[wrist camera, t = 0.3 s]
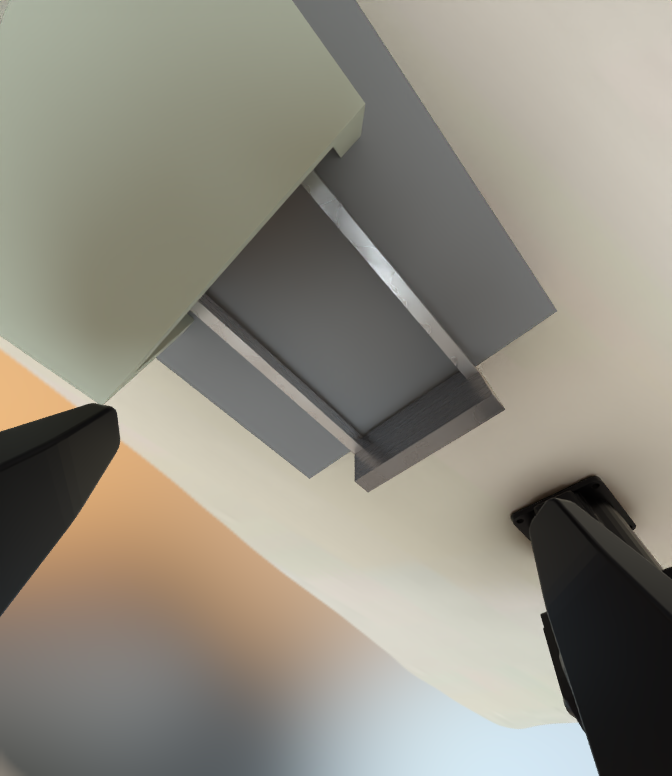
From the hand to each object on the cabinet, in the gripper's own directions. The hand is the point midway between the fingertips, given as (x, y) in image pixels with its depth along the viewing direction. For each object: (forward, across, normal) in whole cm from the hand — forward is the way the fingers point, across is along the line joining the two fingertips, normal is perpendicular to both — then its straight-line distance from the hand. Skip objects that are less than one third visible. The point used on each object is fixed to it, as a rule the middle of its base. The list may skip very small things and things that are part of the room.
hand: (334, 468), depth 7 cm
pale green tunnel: (+10, +7, -4) cm, 13 cm away
